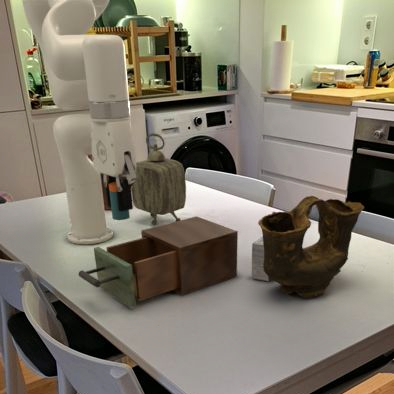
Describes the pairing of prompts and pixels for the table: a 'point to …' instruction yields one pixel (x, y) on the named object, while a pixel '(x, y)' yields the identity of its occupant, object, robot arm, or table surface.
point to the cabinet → (199, 251)
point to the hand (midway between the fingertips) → (120, 207)
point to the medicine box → (258, 261)
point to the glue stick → (114, 206)
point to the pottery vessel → (313, 255)
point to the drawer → (135, 270)
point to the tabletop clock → (159, 184)
